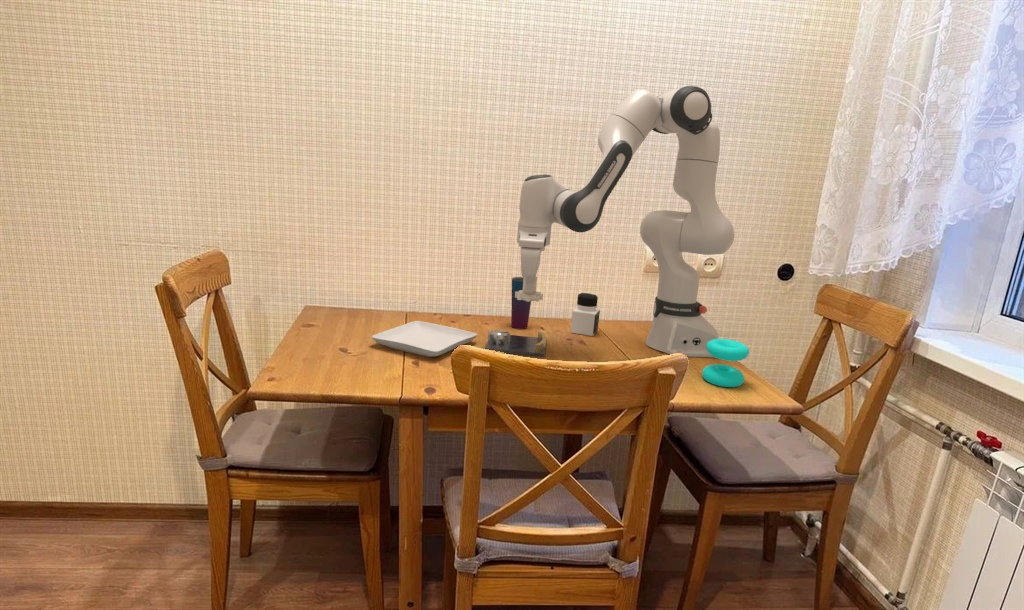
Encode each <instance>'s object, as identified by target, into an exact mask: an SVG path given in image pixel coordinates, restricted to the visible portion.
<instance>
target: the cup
mask: <svg viewBox="0 0 1024 610" xmlns="http://www.w3.org/2000/svg"><path fill="white" fill-rule="evenodd" d="M523 279H524V277H522V276H513V277H512V278H511V315H510V316H511V318H510V320H511V323H510V324H511V328H514V329H519V330H525V329H527V328H528V327H529V320H530V312H531V305H532V301H530V302H527V301H525V300H517V298H515V292H519V290H523Z"/></svg>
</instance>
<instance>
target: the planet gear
mask: <svg viewBox="0 0 1024 610" xmlns="http://www.w3.org/2000/svg"><path fill="white" fill-rule="evenodd" d="M537 282H538V277H537V276H536V277H535V278H534V280H533V289H532V290H531V291H530V290H526V277H524V279H523V290H519V292H515V298H517V300H525V301H527V302H530V301H531V302H535V303H536V302H540V301H543V299H544V298H543V297H544V294H543V293H542V292H541V291H537V285H538V284H537Z"/></svg>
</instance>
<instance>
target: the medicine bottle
mask: <svg viewBox="0 0 1024 610" xmlns="http://www.w3.org/2000/svg"><path fill="white" fill-rule="evenodd" d="M598 299H599V297H598V295H597V294H595V293H591V292H582V293H581V292H580V293H578V295H577V299H576V300H577V301H576V307H575V308H574V309H572V314H571V315H572V316H571V324H570V333H572V334H577V335H584V336H587V337H588V336H590V337H594V336H595V334H596V333H597V332H598V330H599V322H600V321H599V320H600V315H601V314H600V313H601V309H600V308H598Z"/></svg>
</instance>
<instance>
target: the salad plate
mask: <svg viewBox="0 0 1024 610" xmlns="http://www.w3.org/2000/svg"><path fill="white" fill-rule="evenodd" d="M478 335H479V334H478V333H476V332H473V331H468V330H464V329H460V328H457V327H451V326H447V325H443V324H438V323H437V324H436V323H432V322H426V321H422V320H414V321H410V322H408V323H405V324H401V325H399V326H395V327H393V328H389V329H387V330H384V331H381V332H378V333H375V334H373V335H372V336H371V339H372V340H373V341H374V342H376V343H378V344H380V345H382V346H385V347H389V348H391V349H393V350H394V349H395V350H398V351H402V352H405V353H409V354H414V355H419V356H423V357H428V358H429V357H431V358H434V357H438V356H441V355H444V354H446V353H448V352H450V351H452V350H453V351H454V349H456V347H457V346H459V345H461V346H463V345H465V344H468V343H470V342H472V341H473V340H474V339H476V337H478ZM459 347H460V346H459ZM457 348H458V347H457Z"/></svg>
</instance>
